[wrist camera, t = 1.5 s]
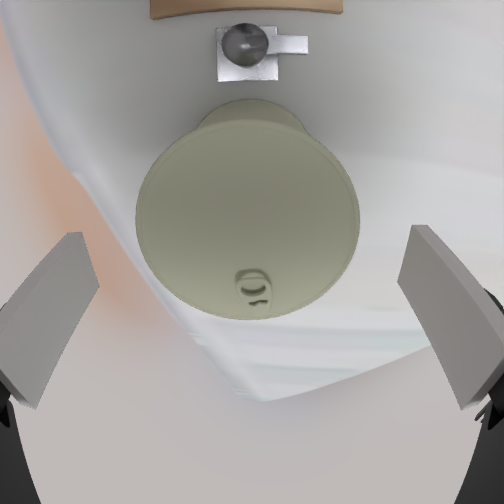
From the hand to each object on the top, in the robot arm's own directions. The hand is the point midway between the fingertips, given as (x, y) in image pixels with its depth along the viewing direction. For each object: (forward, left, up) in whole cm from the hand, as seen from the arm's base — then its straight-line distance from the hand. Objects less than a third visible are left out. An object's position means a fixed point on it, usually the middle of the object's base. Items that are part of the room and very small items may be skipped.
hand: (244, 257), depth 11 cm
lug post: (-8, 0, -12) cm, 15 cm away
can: (0, 0, -13) cm, 13 cm away
